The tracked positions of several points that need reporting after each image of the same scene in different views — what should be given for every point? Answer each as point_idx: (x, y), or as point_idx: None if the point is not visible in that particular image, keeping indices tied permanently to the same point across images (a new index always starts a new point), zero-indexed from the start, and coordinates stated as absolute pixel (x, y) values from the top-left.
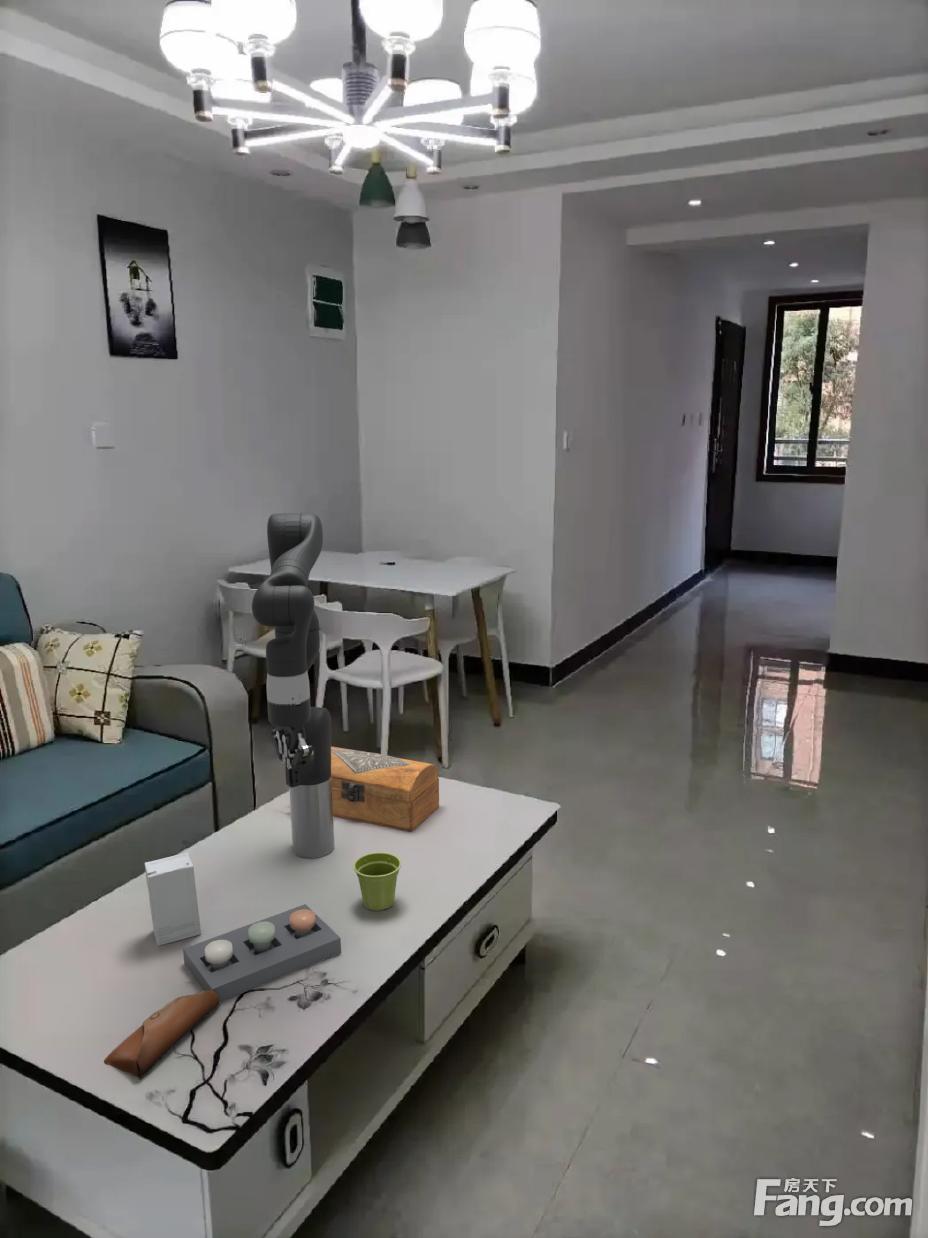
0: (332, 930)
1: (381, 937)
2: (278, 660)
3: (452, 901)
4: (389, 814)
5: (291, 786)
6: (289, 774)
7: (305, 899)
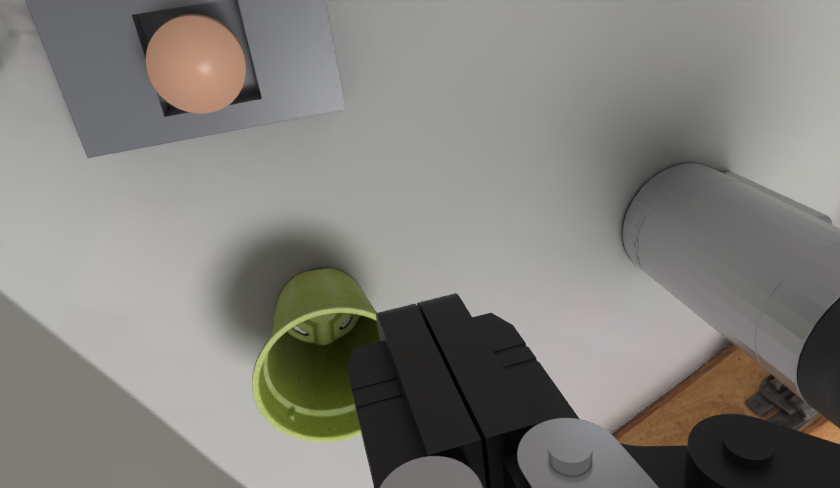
0: (145, 146)
1: (141, 269)
2: None
3: (244, 462)
4: (666, 435)
5: (380, 328)
6: (412, 407)
7: (439, 125)
